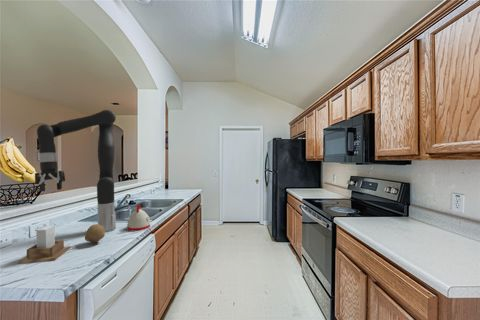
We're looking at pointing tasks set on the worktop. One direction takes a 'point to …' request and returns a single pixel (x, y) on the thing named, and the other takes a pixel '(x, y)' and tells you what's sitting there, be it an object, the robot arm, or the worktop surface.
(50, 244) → the skincare box
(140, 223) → the kitchen timer
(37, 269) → the worktop surface
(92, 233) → the natural sponge
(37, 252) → the socket
